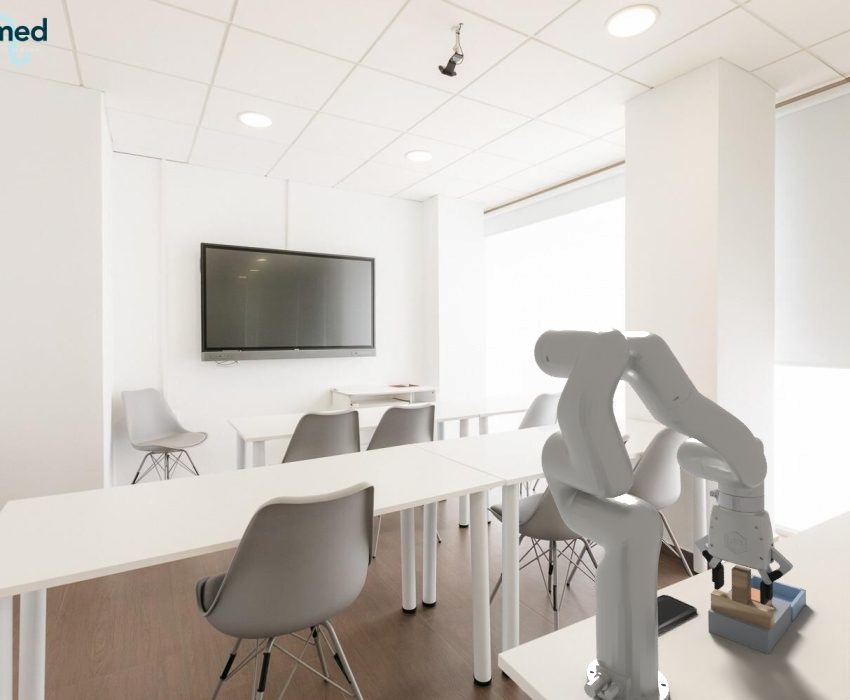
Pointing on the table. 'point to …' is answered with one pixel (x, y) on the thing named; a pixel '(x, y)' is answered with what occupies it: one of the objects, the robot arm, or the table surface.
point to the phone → (672, 612)
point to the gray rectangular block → (751, 627)
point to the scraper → (742, 600)
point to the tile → (758, 597)
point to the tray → (785, 594)
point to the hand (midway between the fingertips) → (741, 593)
